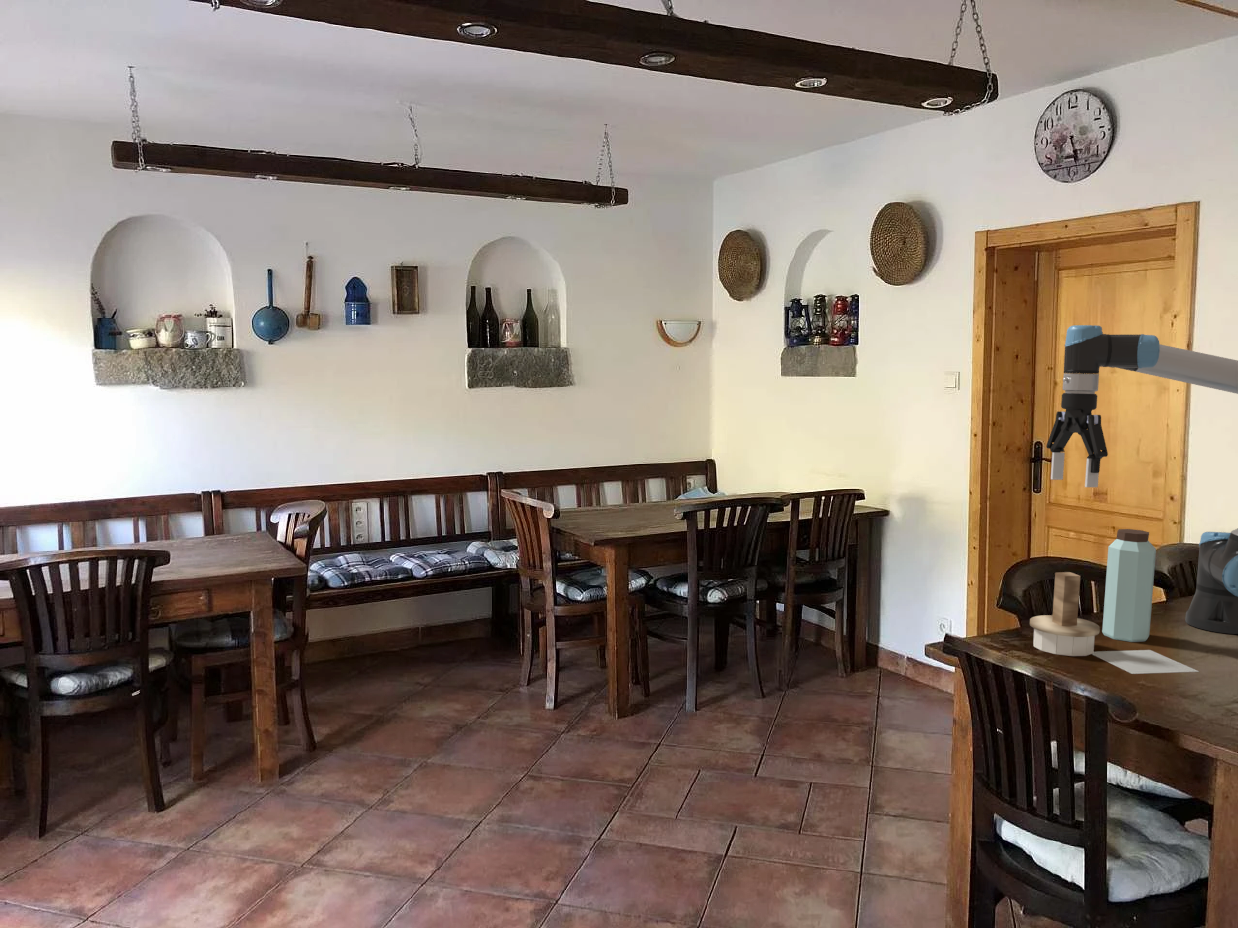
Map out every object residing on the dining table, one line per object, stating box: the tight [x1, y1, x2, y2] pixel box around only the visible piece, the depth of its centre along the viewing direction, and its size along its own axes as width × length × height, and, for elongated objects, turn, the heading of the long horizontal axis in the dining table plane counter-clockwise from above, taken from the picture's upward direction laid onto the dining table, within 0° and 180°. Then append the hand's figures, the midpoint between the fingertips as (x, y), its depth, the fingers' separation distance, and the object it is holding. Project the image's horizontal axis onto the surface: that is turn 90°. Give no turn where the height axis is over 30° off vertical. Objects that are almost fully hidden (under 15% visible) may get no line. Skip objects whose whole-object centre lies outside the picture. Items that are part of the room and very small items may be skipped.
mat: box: [1091, 649, 1200, 675], centre depth 211 cm, size 15×15×1 cm
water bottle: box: [1101, 528, 1157, 643], centre depth 229 cm, size 10×10×25 cm
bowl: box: [1033, 628, 1096, 657], centre depth 220 cm, size 12×12×5 cm
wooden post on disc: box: [1029, 571, 1101, 637], centre depth 219 cm, size 14×14×12 cm
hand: (1073, 483), depth 235 cm, fingers open, 13 cm apart
